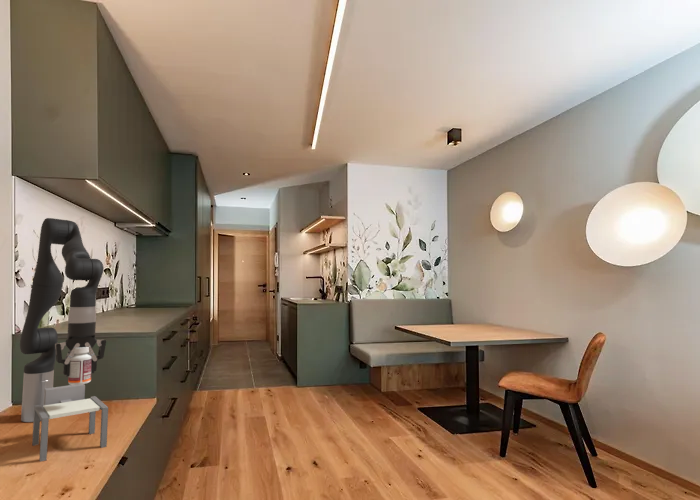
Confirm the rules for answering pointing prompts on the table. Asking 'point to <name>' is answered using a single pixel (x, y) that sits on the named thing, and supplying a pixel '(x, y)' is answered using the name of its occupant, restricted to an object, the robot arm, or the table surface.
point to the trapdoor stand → (41, 414)
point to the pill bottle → (80, 367)
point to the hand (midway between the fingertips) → (79, 374)
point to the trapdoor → (67, 401)
